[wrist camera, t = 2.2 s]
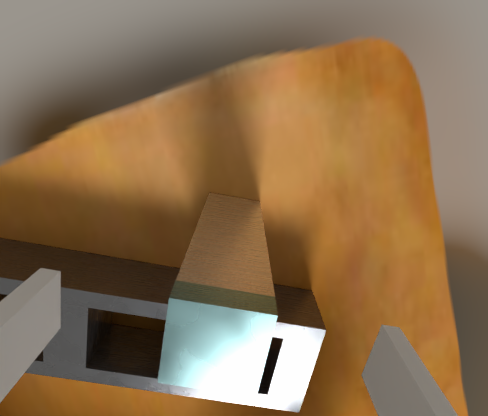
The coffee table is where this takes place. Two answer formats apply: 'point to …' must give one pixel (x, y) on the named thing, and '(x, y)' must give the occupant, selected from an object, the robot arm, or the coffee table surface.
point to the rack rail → (143, 340)
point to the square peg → (221, 303)
